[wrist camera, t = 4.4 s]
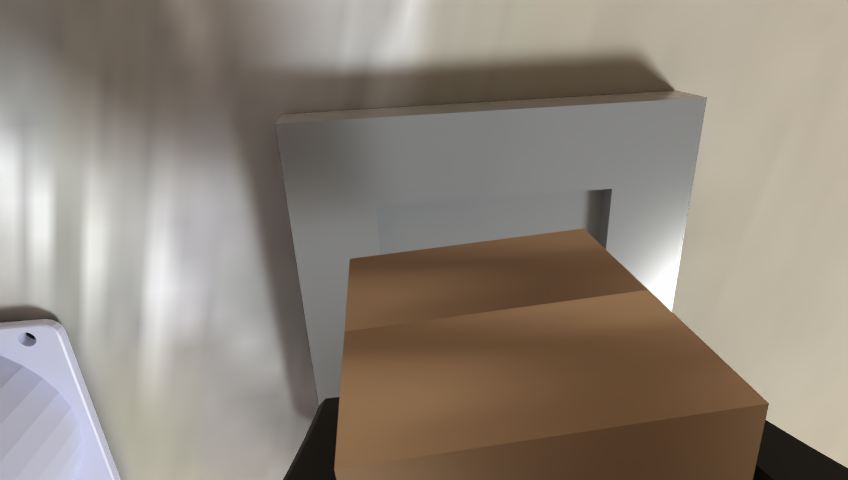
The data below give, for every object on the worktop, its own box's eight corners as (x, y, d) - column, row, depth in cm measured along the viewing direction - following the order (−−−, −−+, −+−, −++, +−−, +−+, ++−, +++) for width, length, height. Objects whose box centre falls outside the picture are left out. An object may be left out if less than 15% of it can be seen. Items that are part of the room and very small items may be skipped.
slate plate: (330, 430, 20) (327, 462, 18) (283, 113, 15) (274, 123, 14) (632, 399, 21) (652, 428, 19) (676, 90, 16) (706, 97, 15)
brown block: (380, 441, 11) (389, 720, 7) (349, 258, 10) (333, 469, 5) (578, 412, 12) (715, 662, 7) (583, 228, 10) (769, 403, 5)
